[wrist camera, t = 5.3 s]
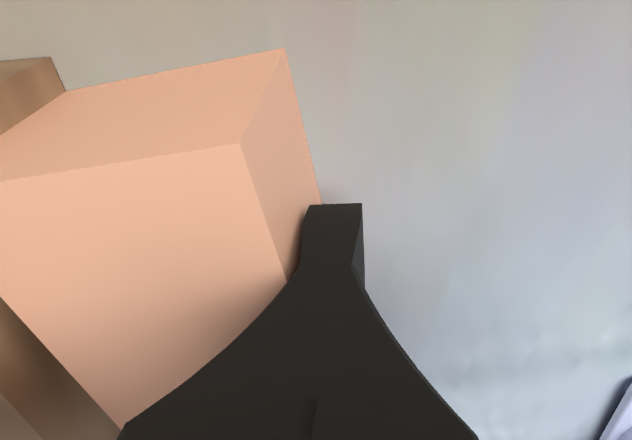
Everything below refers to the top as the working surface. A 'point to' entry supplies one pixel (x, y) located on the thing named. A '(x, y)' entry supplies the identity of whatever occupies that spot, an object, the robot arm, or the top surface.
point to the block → (154, 221)
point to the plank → (12, 333)
